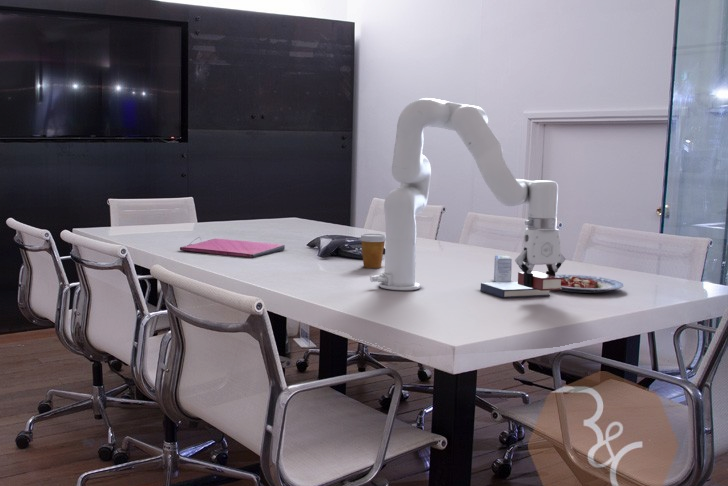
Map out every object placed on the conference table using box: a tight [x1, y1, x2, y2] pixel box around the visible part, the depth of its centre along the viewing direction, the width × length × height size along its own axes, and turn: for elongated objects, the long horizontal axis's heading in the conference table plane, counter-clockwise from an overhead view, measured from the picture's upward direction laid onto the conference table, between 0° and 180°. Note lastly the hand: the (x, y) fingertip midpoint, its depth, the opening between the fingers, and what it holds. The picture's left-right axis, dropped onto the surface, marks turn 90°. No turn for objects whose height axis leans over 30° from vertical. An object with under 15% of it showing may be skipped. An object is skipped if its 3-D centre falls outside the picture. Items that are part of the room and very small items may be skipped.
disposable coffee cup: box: [359, 233, 386, 269], centre depth 283 cm, size 10×10×12 cm
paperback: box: [517, 271, 562, 291], centre depth 220 cm, size 6×11×4 cm, turn 14°
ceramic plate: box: [555, 274, 625, 294], centre depth 243 cm, size 26×26×3 cm
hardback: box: [480, 280, 551, 299], centre depth 234 cm, size 16×12×2 cm
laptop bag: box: [179, 236, 286, 259], centre depth 327 cm, size 40×4×27 cm
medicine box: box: [493, 254, 513, 282], centre depth 252 cm, size 8×4×9 cm, turn 168°
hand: (539, 285), depth 220 cm, fingers closed on paperback, 6 cm apart
